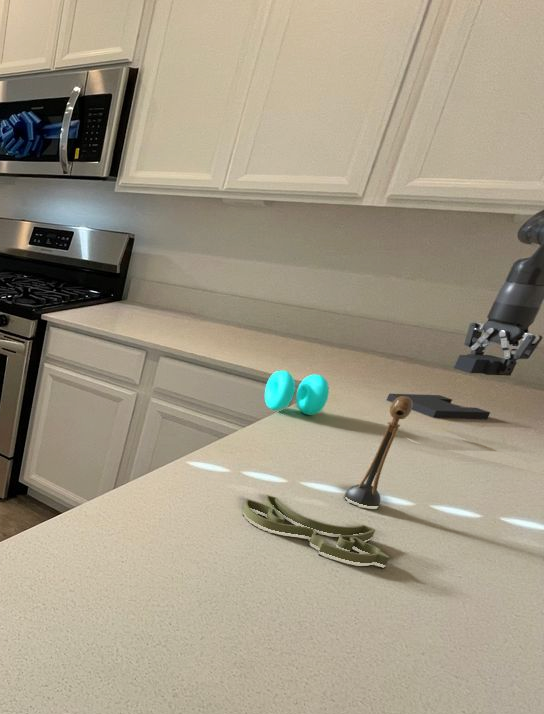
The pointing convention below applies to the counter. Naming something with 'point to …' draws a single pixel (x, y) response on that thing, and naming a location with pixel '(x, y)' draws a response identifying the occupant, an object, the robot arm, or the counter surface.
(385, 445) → the wooden tabletop sculpture
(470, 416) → the notch pad
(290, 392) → the donuts
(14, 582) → the counter surface
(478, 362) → the tab pad
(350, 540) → the cookie cutter
